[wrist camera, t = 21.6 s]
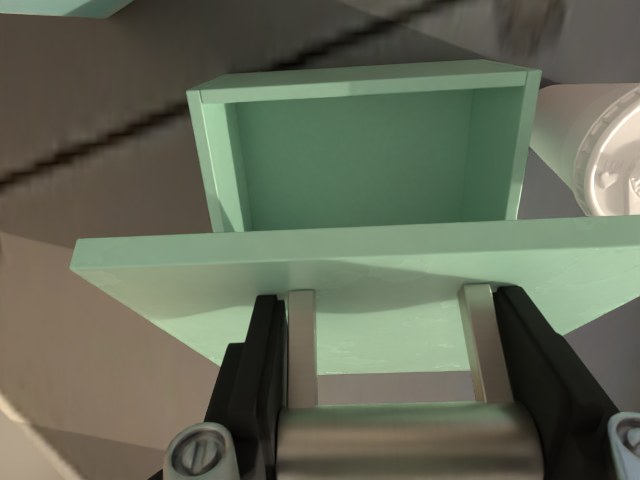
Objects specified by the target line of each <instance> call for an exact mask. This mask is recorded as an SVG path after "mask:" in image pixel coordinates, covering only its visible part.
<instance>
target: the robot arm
mask: <svg viewBox="0 0 640 480" xmlns="http://www.w3.org/2000/svg"><path fill="white" fill-rule="evenodd" d="M492 297H493V302H494V306H495V311H496V315H497V320H498V325H499V329H500V334H501V339H502V343H503V348H504V352H505V357H506V362H507V366H508V371H509V375H510V380H511V385H512V389H513V394H514V399H515V400H517V401H520V402H522V403H523V404H524V405H525V406H526V407H527V408H528V410H529V411H530V413H531V415H532V417H533V419H534V421H535V423H536V425H537V428H538V431H539V434H540V437H541V441H542V446H543V451H544V458H545V478H544V480H640V413H635V412H622V413H621V412H620V411H619V410H618V408H617V407H616V406H615V405H614V403H613V402H612V401H611V399H610V398H609V397H608V395H607V394H606V393H605V391H604V390H603V389H602V387H601V386H600V385H599V383H598V382H597V381H596V379H595V378H594V377H593V375H592V374H591V373H590V372H589V370H588V369H587V368H586V366H585V365H584V364H583V362H582V361H581V360H580V358H579V357H578V356H577V354H576V353H575V352H574V350H573V349H572V348H571V346H570V345H569V344H568V342H567V341H566V340H565V339H564V337H563V336H562V335H561V334H559V333H556V332H555V331H554V329H553V328H552V326H551V325H550V324H549V322H548V321H547V320H546V318H545V317H544V316H543V314H542V313H541V312H540V310H539V309H538V308H537V306H536V305H535V304H534V302H533V301H532V300H531V298H530V297H529V296H528V294H527V293H526V292H525V290H524V289H523V288H522V287H521V286H508V287H499V288H498V289H497V291H496V292H492ZM286 385H287V317H286V308H285V301H284V300H278V298H277V295H259V296H257V297H256V301H255V304H254V308H253V312H252V316H251V320H250V324H249V327H248V331H247V335H246V339H245V342H241V343H229V344H228V346H227V348H226V351H225V355H224V358H223V361H222V364H221V368H220V371H219V374H218V377H217V380H216V384H215V387H214V390H213V393H212V396H211V400H210V403H209V406H208V409H207V412H206V416H205V419H204V422H203V423H198V424H195V425H192V426H190V427H188V428H186V429H184V430H183V431H182V432H180V433H179V434H177V435H176V437H175V438H174V439H173V440H172V441H171V442H170V444H169V446H168V448H167V449H166V451H165V455H164V460H163V469H161V470H160V471H159V472H157V473H156V474H155V475H153V476H152V477H150V478H149V479H148V480H276V476H275V438H276V426H277V419H278V414H279V411H280V408H281V407H283V406H286Z"/></svg>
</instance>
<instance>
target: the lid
mask: <svg viewBox="0 0 640 480" xmlns="http://www.w3.org/2000/svg"><path fill="white" fill-rule="evenodd" d="M70 270H71V271H73V272H74V273H76V274H78V275H79V276H81V277H82V278H84V279H85V280H87V281H88V282H90V283H92V284H93V285H95V286H96V287H98V288H99V289H101V290H102V291H104V292H105V293H107V294H109V295H110V296H112V297H113V298H115V299H116V300H118V301H119V302H121V303H123V304H124V305H126V306H127V307H129V308H130V309H132V310H133V311H135V312H136V313H138V314H140V315H141V316H143V317H144V318H146V319H147V320H149V321H150V322H152V323H154V324H155V325H157V326H158V327H160V328H161V329H163V330H164V331H166V332H167V333H169V334H171V335H172V336H174V337H175V338H177V339H178V340H180V341H181V342H183V343H185V344H186V345H188V346H189V347H191V348H192V349H194V350H195V351H197V352H199V353H200V354H202V355H203V356H205V357H206V358H208V359H209V360H211V361H212V362H214V363H216V364H217V365H219V366H220V367H221V364H222V361H223V358H224V355H225V351H226V348H227V346H228V344H229V343H241V342H245V339H246V335H247V331H248V327H249V324H250V320H251V316H252V312H253V308H254V304H255V301H256V297H257V296H259V295H277V298H278V300H284V301H285V308H286V317H287V385H286V406H283V407H281V408H280V411H279V414H278V419H277V426H276V438H275V476H276V480H544V478H545V458H544V451H543V446H542V441H541V437H540V434H539V431H538V428H537V425H536V423H535V421H534V419H533V417H532V415H531V413H530V411H529V410H528V408H527V407H526V406H525V405H524V404H523V403H522V402H520V401H517V400H515V399H514V394H513V389H512V385H511V380H510V375H509V371H508V366H507V362H506V357H505V352H504V348H503V343H502V339H501V334H500V329H499V325H498V320H497V315H496V311H495V306H494V302H493V297H492V292H496V291H497V289H498V288H499V287H508V286H521V287H522V288H523V289H524V290H525V292H526V293H527V294H528V296H529V297H530V298H531V300H532V301H533V302H534V304H535V305H536V306H537V308H538V309H539V310H540V312H541V313H542V314H543V316H544V317H545V318H546V320H547V321H548V322H549V324H550V325H551V326H552V328H553V329H554V331H555V332H556V333H559V334H561V335H562V336H563V335H565V334H566V333H568V332H570V331H572V330H574V329H576V328H578V327H580V326H582V325H584V324H586V323H588V322H590V321H592V320H594V319H596V318H598V317H600V316H601V315H603V314H605V313H607V312H609V311H611V310H613V309H615V308H617V307H619V306H621V305H623V304H625V303H627V302H629V301H631V300H633V299H634V298H636V297H638V296H640V215H617V216H594V217H571V218H547V219H524V220H501V221H478V222H455V223H431V224H408V225H385V226H362V227H339V228H315V229H292V230H269V231H246V232H223V233H199V234H176V235H153V236H130V237H107V238H83V239H78V240H77V242H76V246H75V249H74V253H73V257H72V260H71V264H70ZM460 370H470V371H471V376H472V382H473V388H474V393H475V399H476V401H465V402H426V403H387V404H349V405H318V388H317V375H321V374H356V373H391V372H425V371H460Z"/></svg>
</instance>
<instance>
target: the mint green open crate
mask: <svg viewBox="0 0 640 480" xmlns="http://www.w3.org/2000/svg"><path fill="white" fill-rule="evenodd" d="M541 75H542V70H539V69H533V68H528V67H523V66H518V65H512V64H507V63H502V62H496V61H491V60H486V59H475V60H458V61H441V62H424V63H407V64H390V65H373V66H356V67H339V68H322V69H305V70H288V71H271V72H254V73H237V74H224V75H221V76H219V77H217V78H214V79H212V80H210V81H207V82H205V83H203V84H200V85H198V86H196V87H193V88H191V89H189V90H187V91H186V95H187V100H188V105H189V111H190V116H191V121H192V126H193V131H194V137H195V142H196V147H197V152H198V157H199V163H200V168H201V173H202V178H203V183H204V189H205V194H206V199H207V204H208V209H209V215H210V220H211V225H212V230H213V233H223V232H246V231H269V230H292V229H315V228H339V227H362V226H385V225H408V224H431V223H455V222H478V221H501V220H516V218H517V212H518V207H519V201H520V195H521V190H522V184H523V178H524V172H525V167H526V161H527V155H528V149H529V144H530V138H531V132H532V127H533V121H534V115H535V109H536V104H537V98H538V92H539V86H540V81H541Z"/></svg>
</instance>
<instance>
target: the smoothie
mask: <svg viewBox="0 0 640 480" xmlns="http://www.w3.org/2000/svg"><path fill="white" fill-rule="evenodd" d="M529 146H530V147H531V148H532V149H533V150H534V151H535V153H536V154H537V155H538V156H539V157H540V158H541V159H542V160H543V161H544V162H545V163H546V164H547V165H548V166H549V167H550V168H551V169H552V170H553V171H554V172H555V173H556V174H557V175H558V176H559V177H560V178H561V179H562V180H563V181H564V182H565V183H566V184H567V185H568V186H569V187H570V189H571V190H572V191H573V192H574V196H575V199H576V202H577V203H578V205H579V206H580V208H581V209H582V211H583V212H584V213H585V215H587V216H588V217H594V216H617V215H640V83H616V84H562V85H551V86H547V87H545V88H542V89H540V90H539V92H538V98H537V104H536V109H535V115H534V121H533V127H532V132H531V138H530V144H529Z"/></svg>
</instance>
